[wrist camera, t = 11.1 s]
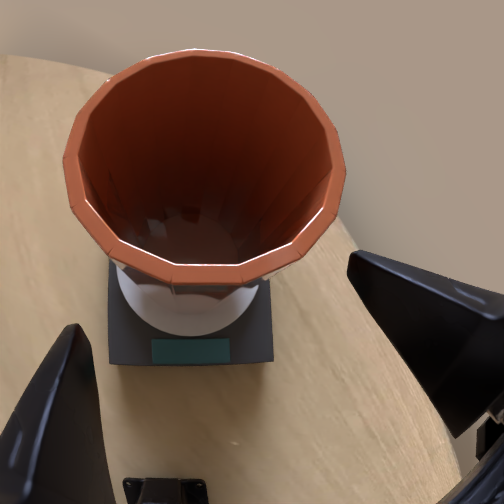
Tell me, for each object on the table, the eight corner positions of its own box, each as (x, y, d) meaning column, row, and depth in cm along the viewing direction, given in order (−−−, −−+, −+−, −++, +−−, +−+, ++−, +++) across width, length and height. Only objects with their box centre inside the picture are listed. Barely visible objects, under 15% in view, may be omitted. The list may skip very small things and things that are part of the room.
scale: (265, 358, 21) (277, 362, 18) (115, 361, 18) (106, 365, 15) (257, 205, 24) (267, 190, 21) (121, 202, 21) (114, 186, 18)
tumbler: (244, 314, 18) (364, 281, 6) (136, 314, 17) (40, 280, 5) (240, 213, 20) (320, 67, 8) (140, 211, 18) (103, 50, 6)
